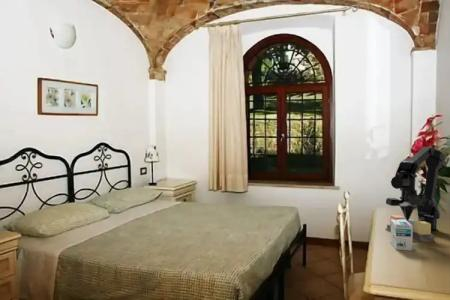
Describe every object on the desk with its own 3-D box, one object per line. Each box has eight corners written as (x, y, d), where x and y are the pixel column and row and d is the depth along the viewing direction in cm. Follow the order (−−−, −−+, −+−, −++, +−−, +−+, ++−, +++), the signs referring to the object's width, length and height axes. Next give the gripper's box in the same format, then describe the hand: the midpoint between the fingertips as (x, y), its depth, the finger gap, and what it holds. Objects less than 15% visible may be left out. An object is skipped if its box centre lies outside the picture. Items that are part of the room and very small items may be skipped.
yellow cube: (424, 231, 178) (424, 221, 178) (430, 234, 173) (430, 224, 173) (414, 231, 178) (414, 221, 178) (420, 234, 173) (420, 224, 173)
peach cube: (399, 224, 191) (399, 215, 191) (404, 227, 186) (405, 217, 186) (390, 224, 190) (390, 215, 190) (395, 227, 186) (395, 217, 185)
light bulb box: (412, 251, 158) (413, 225, 158) (395, 250, 160) (396, 224, 159) (406, 243, 169) (406, 219, 168) (389, 242, 170) (390, 218, 170)
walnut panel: (409, 229, 193) (409, 224, 193) (434, 241, 172) (434, 235, 172) (385, 229, 193) (385, 224, 193) (407, 241, 172) (407, 235, 172)
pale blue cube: (409, 228, 184) (409, 218, 184) (414, 231, 179) (414, 221, 179) (399, 228, 184) (399, 218, 183) (404, 231, 179) (404, 221, 179)
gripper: (397, 189, 172) (396, 224, 173) (437, 189, 173) (436, 224, 174) (385, 186, 183) (384, 218, 184) (423, 186, 184) (422, 218, 185)
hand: (407, 219), depth 181 cm, fingers closed, pressing on pale blue cube
